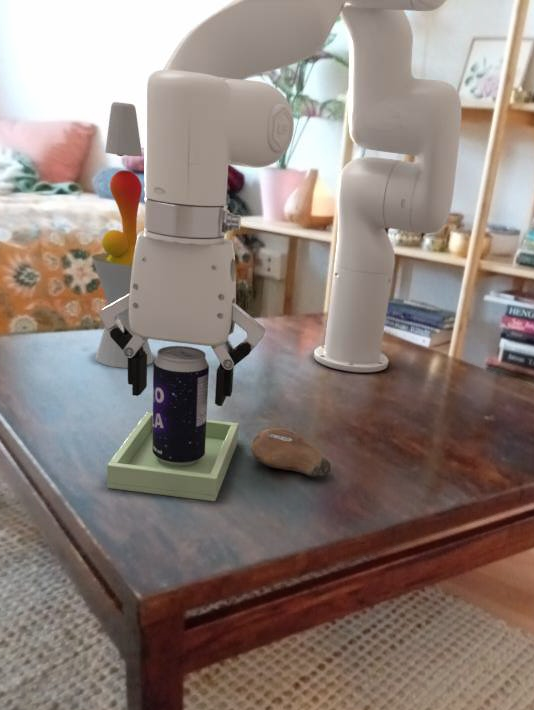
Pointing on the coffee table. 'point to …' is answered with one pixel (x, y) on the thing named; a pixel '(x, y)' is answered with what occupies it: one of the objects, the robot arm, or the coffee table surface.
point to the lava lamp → (118, 245)
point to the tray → (150, 475)
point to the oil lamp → (289, 452)
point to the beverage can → (179, 405)
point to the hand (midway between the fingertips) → (180, 395)
